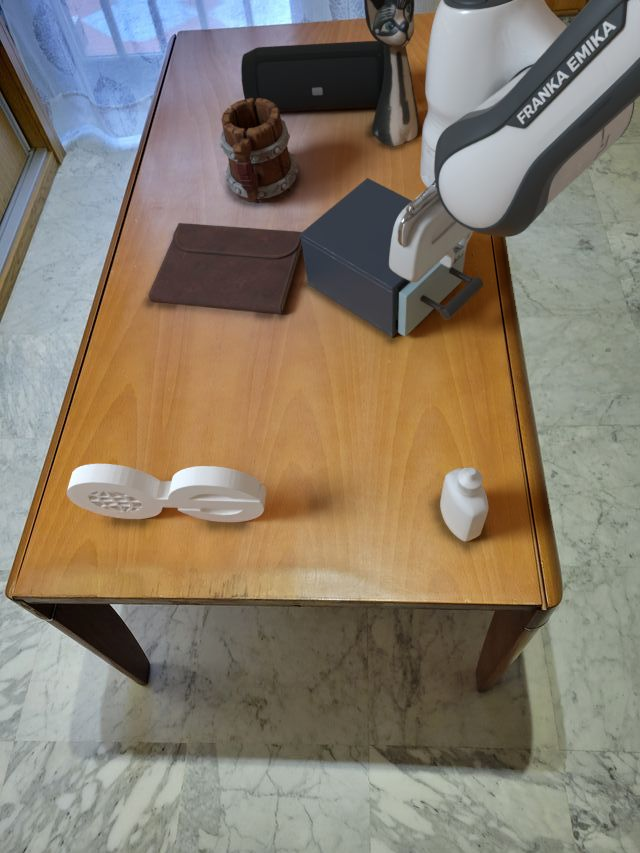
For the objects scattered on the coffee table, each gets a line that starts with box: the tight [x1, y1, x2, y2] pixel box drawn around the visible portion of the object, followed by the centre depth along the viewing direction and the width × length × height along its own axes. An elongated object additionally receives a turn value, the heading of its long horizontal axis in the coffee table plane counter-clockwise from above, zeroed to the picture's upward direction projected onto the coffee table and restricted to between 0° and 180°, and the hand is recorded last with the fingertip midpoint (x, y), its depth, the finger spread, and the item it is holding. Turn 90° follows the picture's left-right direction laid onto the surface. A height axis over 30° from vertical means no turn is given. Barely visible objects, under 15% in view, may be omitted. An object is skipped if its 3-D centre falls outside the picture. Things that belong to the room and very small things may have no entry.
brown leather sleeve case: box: [148, 222, 303, 315], centre depth 93 cm, size 15×20×2 cm
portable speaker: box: [240, 40, 385, 112], centre depth 108 cm, size 26×10×10 cm, turn 86°
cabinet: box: [300, 177, 413, 338], centre depth 86 cm, size 16×14×10 cm
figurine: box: [363, 0, 420, 147], centre depth 96 cm, size 9×7×25 cm
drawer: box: [396, 253, 484, 338], centre depth 84 cm, size 19×12×8 cm, turn 47°
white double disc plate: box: [66, 463, 267, 523], centre depth 71 cm, size 22×2×10 cm, turn 86°
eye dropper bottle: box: [439, 466, 490, 542], centre depth 66 cm, size 4×6×12 cm
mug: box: [219, 98, 299, 204], centre depth 97 cm, size 12×14×15 cm
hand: (451, 258), depth 76 cm, fingers closed
